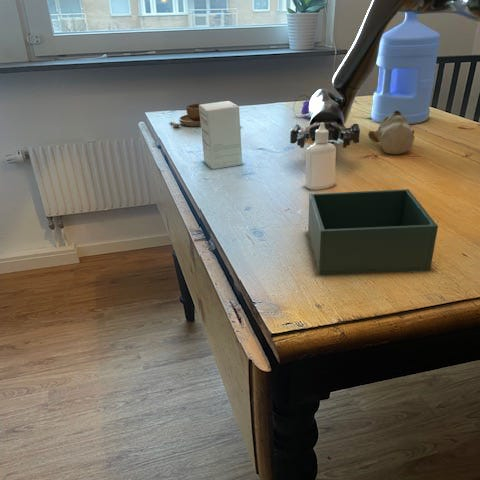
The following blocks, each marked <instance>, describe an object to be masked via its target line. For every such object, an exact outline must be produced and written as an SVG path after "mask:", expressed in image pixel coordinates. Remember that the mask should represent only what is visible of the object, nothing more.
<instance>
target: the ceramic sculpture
mask: <svg viewBox="0 0 480 480" xmlns="http://www.w3.org/2000/svg"><path fill="white" fill-rule="evenodd" d="M368 131H369V132H368V138H369V140H370V141H372V142H373V143H377V144H379V143H380V146H381V148H382V150H383V152H385V153H386V154H389V155H390V154H391V155H400V154H405V153H406V152H408V151H409V149H410V148H411V147H412V145H413V143H414V140H415V129H414V130H412V128H411V125H409V123H408V122H407V120H406V118H405V117H404V115H402V114H401V113H400V112H399V111H395V112H394V113H393V114H392V115H391V116H387V117H386V118H384V119H383V120H382V122H381V123H379V126H378V128H377V130H376V131H374V130H368Z"/></svg>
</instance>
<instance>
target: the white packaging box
mask: <svg viewBox="0 0 480 480" xmlns="http://www.w3.org/2000/svg"><path fill="white" fill-rule="evenodd" d="M200 104H201V105H199V113H200V123H201V126H200V132H201V142H202V143H201V144H202V155H203V161H204V162H205V163H206V164H207V166H209V167H210V168H211V169H212V170H218V169H222V168H227V167H228V168H229V167H235V166H241V165H243V153H242V152H243V151H242V136H241V118H240V117H241V116H240V106H239V105H237V104H235V103H234V102H232V101H230V100H226V101H217V102H209V103H200Z"/></svg>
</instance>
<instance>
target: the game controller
mask: <svg viewBox="0 0 480 480" xmlns="http://www.w3.org/2000/svg"><path fill="white" fill-rule="evenodd" d="M301 97H307V98H309V100H308V99H307V100H305V101H303V102H302V108H301V111H300V112H301V115H307V116H302V117H301V119H304V118H307V117H311V116H310V115H309V103H310V100H311V98H310V97H309V96H307V95H300V96H299V98H301ZM296 102H297V100H295V101H294V103H293V105H295V104H296ZM292 110H293V111H295V106H293V109H292ZM293 114H294V116H295V117H296V118H297V119H300V117H298V116H297V115H296V114H295V112H293Z"/></svg>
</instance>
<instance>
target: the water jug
mask: <svg viewBox="0 0 480 480" xmlns="http://www.w3.org/2000/svg"><path fill="white" fill-rule="evenodd" d="M404 14H405V15H404V20H403V22H401V23H400V24H397V25H396V26H394V27H393V28H391V29H389V30H387V31H386V32H384V33H383V35H382V38H381V42H380V47H379V53H378V58H377V62H376V64H375V65H377V66H378V68H379V70H378V79H377V81H378V82H377V88H376V90H375V91H374V92H373V98H372V109H371V113H370V114H371V115H370V116H371V119H372V120H373V121H374V122H376V123H378V124H381V122H382V120H383V119H384V118H386V117H387V116H391V115H392V114H393V113H394V112H395V111H399V112H400V113H401V114H402V115H404V117H405V118H406V120H407V122H408V123H409V125H410V126H411V125H417V124H421V123H424V122H425V121H427V120H428V119H429V116H430V112H431V111H430V110H431V109H430V107H431V101H432V93H433V87H434V84H435V73H436V67H437V66H436V65H437V60H438V53H439V50H440V44H441V43H440V42H441V41H440V40H441V34H440V33H439V32H437V31H435V30H434V29H432V28H430V27H428V26H427V25H425V24H424V23H421V22H419V20H418V17H419V14H410V13H404Z"/></svg>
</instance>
